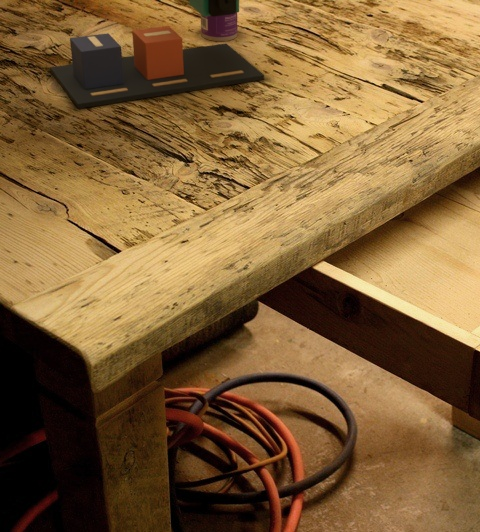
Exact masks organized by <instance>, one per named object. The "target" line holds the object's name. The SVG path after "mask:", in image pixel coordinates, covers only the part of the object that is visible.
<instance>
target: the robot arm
mask: <svg viewBox="0 0 480 532" xmlns="http://www.w3.org/2000/svg"><path fill="white" fill-rule="evenodd" d="M208 4H209V14H210V15H211V16H213V17H215V16H223V15H231V14H235V13H236V11H237V3H236V0H208Z"/></svg>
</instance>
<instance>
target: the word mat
mask: <svg viewBox="0 0 480 532" xmlns="http://www.w3.org/2000/svg"><path fill="white" fill-rule="evenodd" d="M122 65H123V78H124V84H119V85H113V86H106V87H99V88H93V89H84V87H83V86H82V85H81V84H80V82H79V81H78V80H77V79H76V77H75V76H74V73H73V64H72V63H70V64H64V65H63V64H62V65H57V66H50V67H49V70H50V71H49V72H50V74H51V75H52V76H53V77H54V79H55V80H56V81H57V83H58V84H59V85H60V87H61V88H62V89H63V90H64V92H65V94H67V96H68V97H69V98H70V100H71V101H72V102H73V103H74V105H75V106H76V107H77V109H87V108H91V107H99V106H105V105H111V104H116V103H117V104H118V103H122V102H130V101H136V100H144V99H148V98H149V99H150V98H155V97H161V96H167V95H168V96H169V95H175V94H181V93H188V92H194V91H199V90H201V91H202V90H205V89H213V88H218V87H224V86H232V85H238V84H244V83H250V82H259V81H263V80H265V74H263V72H261V71H260V70H259V69H257V68H256V67H255V66H254V65H253V64H252V63H251V62H249V61H248V60H247V59H246V58H245V57H243V56H242V55H241V54H240V53H238V51H236V50H235V49H234V48H232V47H231V46H230V45H228V43H220V44H211V45H204V46H197V47H196V46H195V47H189V48H183V69H184V75H178V76H172V77H165V78H158V79H151V80H147V79H146V78H145V77H144V76H143V75H142V74H141V73H140V72H139V70H138V69H137V68H136V67H135V64H134V55H132V56H130V55H129V56H122Z"/></svg>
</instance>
